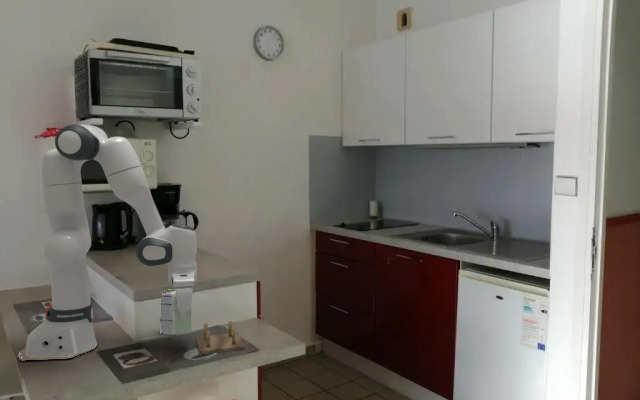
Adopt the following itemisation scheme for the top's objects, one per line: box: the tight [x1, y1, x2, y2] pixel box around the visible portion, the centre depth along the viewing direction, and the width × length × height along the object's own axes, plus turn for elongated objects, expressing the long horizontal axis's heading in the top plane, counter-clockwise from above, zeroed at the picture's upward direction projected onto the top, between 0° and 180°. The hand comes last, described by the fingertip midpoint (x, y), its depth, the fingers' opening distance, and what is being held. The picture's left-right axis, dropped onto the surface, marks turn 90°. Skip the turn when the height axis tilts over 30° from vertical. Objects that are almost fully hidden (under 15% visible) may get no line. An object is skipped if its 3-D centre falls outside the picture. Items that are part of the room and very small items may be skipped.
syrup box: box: [160, 291, 176, 336], centre depth 186 cm, size 6×6×14 cm
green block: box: [174, 299, 192, 335], centre depth 169 cm, size 5×5×10 cm
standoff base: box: [195, 320, 246, 355], centre depth 173 cm, size 14×14×6 cm
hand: (182, 318), depth 169 cm, fingers closed on green block, 5 cm apart
